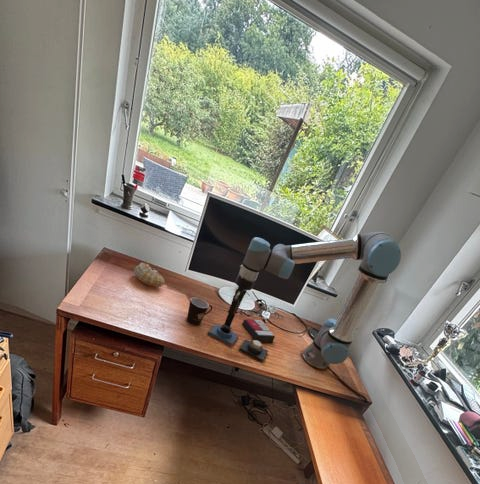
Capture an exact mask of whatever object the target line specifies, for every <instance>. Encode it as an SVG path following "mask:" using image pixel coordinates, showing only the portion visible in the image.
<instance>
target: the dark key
mask: <svg viewBox="0 0 480 484" xmlns="http://www.w3.org/2000/svg"><path fill="white" fill-rule="evenodd" d="M221 325H222V327H221V330H222V331H223V332H225V333H230V330H232V326H230V327H228V326H226V325H224V324H221Z"/></svg>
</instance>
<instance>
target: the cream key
mask: <svg viewBox="0 0 480 484" xmlns="http://www.w3.org/2000/svg"><path fill="white" fill-rule="evenodd" d="M252 341H253V342H252V347H253V348H255V349H260V348H261V346H263V345H262V344H263V343H262V342H259V341H257V340H254V339H253V340H252Z"/></svg>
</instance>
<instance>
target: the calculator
mask: <svg viewBox="0 0 480 484" xmlns="http://www.w3.org/2000/svg"><path fill="white" fill-rule="evenodd" d="M242 327H244V328H245V330H247V332H248V333H249V334H250V335H251V339H253V341H254V340H257V341H259V342H261V343H273V341H274V339H275V338H276V336H275V334H274V333H273V332H272V331H271V329H270V328H269V327H268V326H267V325H266V324H265V322H263V320H261V319H251V318H245V319H243V322H242Z"/></svg>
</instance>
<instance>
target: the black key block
mask: <svg viewBox="0 0 480 484" xmlns="http://www.w3.org/2000/svg"><path fill="white" fill-rule="evenodd" d="M253 341H254V340H249V339H245V340H244V341H243V342H242V344H241V346H240V347H239V349H238V351H239V352H241V353H242V354H245V355H247V356H248V357H251V358H252V359H255V360H256V361H258V362H259V363H263V362H264V359H265V358H266V356H267V354H268V351H269V350H268V349H265V348H264V346H263V345H262V346H261V348H260V349H255V348H253V347H252V342H253Z"/></svg>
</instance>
